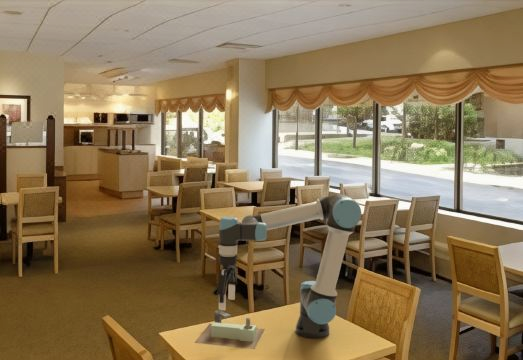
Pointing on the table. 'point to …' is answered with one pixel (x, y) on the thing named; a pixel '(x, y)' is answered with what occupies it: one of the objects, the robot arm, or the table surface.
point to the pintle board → (207, 339)
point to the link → (233, 331)
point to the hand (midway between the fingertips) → (226, 304)
